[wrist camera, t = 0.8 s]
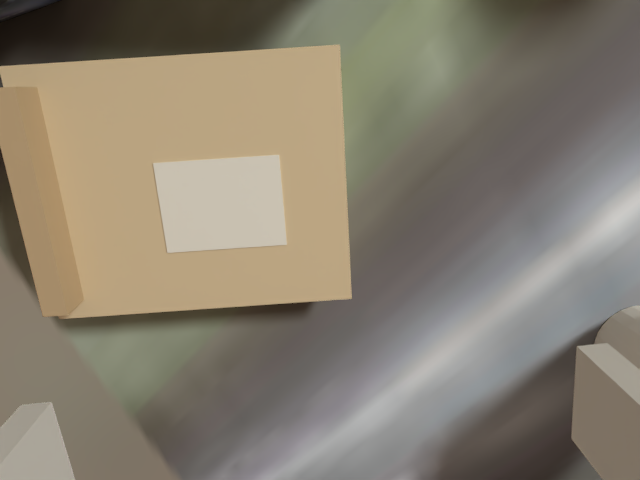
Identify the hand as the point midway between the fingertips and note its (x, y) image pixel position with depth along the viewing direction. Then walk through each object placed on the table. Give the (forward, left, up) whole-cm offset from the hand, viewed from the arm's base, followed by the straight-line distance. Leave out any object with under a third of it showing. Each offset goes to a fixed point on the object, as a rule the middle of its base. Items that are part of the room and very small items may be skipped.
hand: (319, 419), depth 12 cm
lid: (-2, -8, -21) cm, 23 cm away
